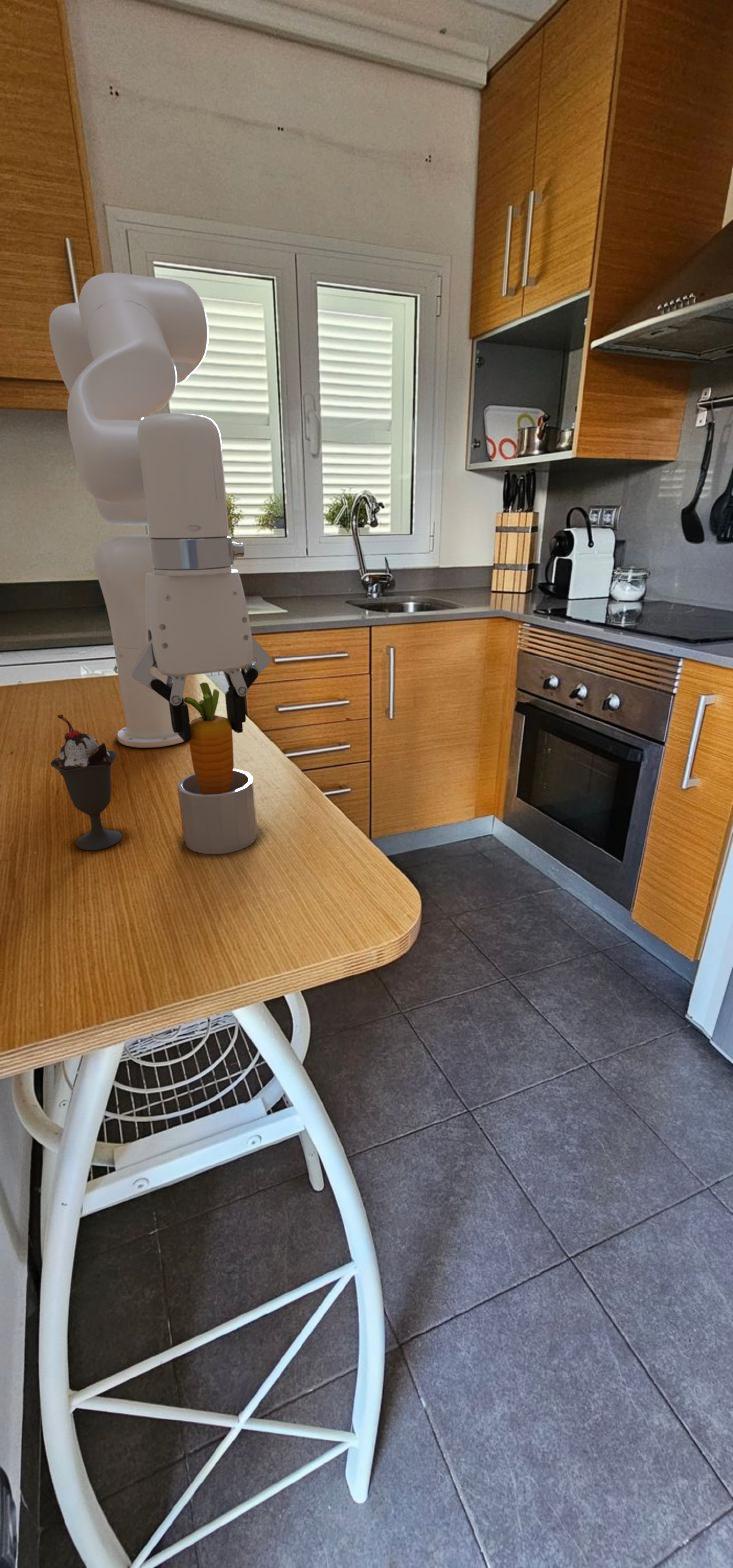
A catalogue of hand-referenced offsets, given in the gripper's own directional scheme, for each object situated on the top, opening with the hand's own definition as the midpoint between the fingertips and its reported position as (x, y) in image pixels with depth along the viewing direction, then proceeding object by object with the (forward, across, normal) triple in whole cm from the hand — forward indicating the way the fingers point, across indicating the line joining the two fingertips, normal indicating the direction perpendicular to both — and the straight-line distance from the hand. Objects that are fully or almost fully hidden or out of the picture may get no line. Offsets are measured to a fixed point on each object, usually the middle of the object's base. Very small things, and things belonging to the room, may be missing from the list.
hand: (210, 732), depth 73 cm
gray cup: (+13, 0, 0) cm, 13 cm away
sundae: (+13, +12, -6) cm, 19 cm away
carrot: (+10, 0, 0) cm, 10 cm away
